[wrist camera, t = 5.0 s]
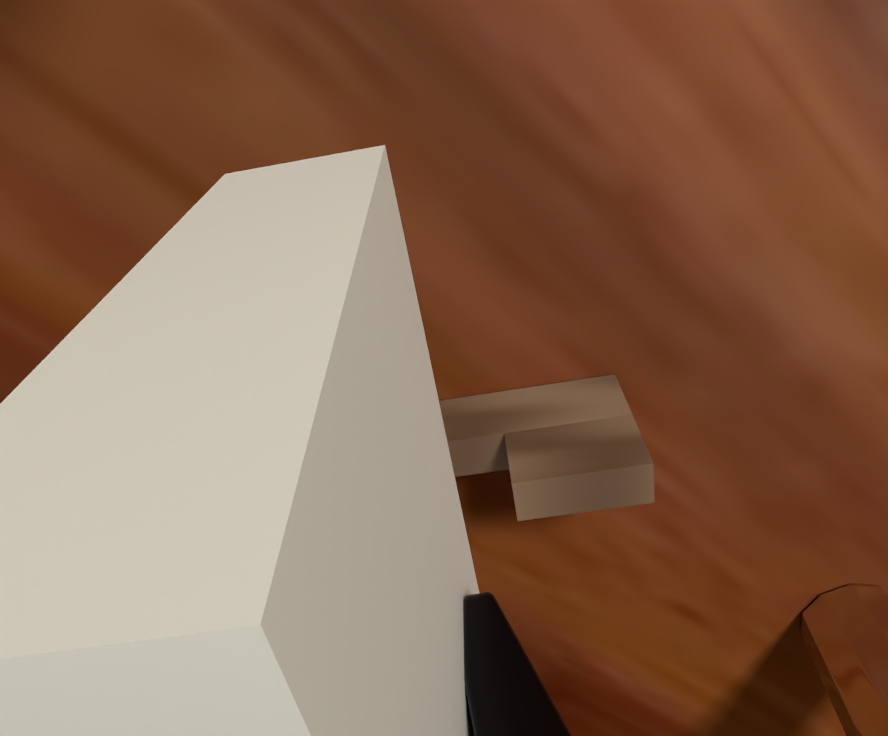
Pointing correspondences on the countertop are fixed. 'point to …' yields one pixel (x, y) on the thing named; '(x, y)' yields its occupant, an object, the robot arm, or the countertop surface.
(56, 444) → the cream plate
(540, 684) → the robot arm
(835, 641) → the milkshake
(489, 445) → the brown wooden flat piece
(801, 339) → the countertop surface
